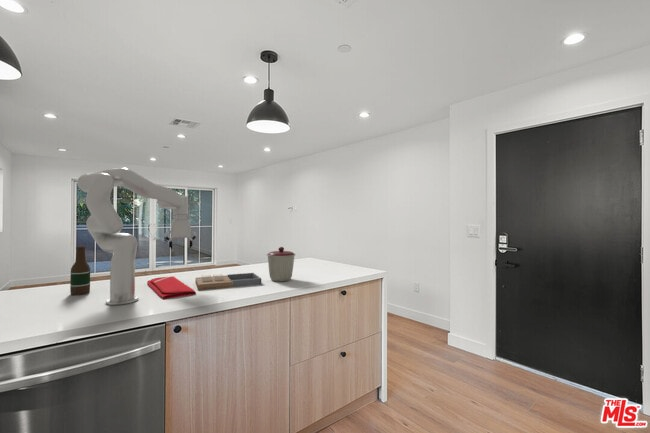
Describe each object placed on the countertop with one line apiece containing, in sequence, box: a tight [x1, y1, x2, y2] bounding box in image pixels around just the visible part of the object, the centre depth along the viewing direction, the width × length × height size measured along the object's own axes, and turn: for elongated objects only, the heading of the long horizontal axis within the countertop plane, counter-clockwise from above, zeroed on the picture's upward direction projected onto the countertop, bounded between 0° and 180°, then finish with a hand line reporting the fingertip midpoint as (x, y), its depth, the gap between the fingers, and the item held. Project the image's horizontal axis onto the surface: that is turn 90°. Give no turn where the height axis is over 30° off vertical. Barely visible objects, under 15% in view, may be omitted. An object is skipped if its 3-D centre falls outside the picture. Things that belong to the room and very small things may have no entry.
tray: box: [227, 272, 262, 288], centre depth 184 cm, size 20×16×4 cm
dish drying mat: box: [146, 276, 197, 300], centre depth 165 cm, size 16×41×4 cm, turn 40°
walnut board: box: [195, 274, 233, 291], centre depth 176 cm, size 20×18×3 cm
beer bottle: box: [69, 245, 91, 296], centre depth 153 cm, size 8×8×24 cm
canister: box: [266, 246, 296, 283], centre depth 191 cm, size 18×18×21 cm
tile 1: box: [200, 274, 212, 281], centre depth 174 cm, size 5×5×2 cm
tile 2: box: [212, 273, 224, 280], centre depth 177 cm, size 5×5×2 cm
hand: (180, 248), depth 170 cm, fingers open, 9 cm apart
